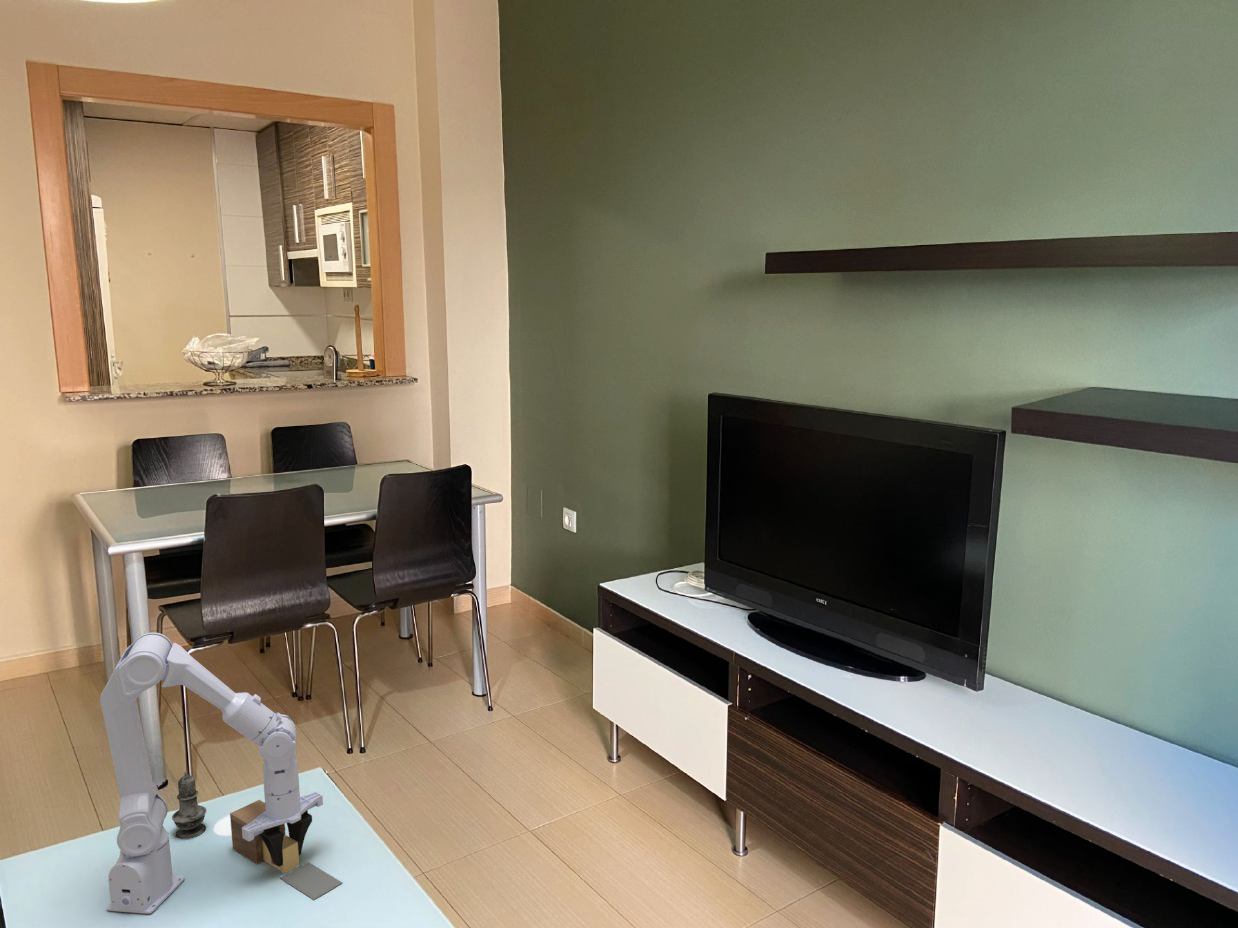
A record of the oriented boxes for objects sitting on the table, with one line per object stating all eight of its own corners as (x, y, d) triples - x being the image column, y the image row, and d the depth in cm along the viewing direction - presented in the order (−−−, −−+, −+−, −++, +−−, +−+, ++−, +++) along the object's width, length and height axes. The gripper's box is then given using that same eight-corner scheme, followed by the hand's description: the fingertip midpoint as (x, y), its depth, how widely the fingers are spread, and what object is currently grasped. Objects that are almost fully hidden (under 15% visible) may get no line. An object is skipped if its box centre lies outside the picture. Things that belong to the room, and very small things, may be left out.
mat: (313, 900, 149) (313, 898, 149) (280, 878, 154) (280, 877, 154) (342, 883, 153) (342, 882, 153) (308, 862, 159) (308, 861, 159)
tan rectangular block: (283, 873, 156) (282, 849, 155) (245, 849, 163) (244, 827, 162) (299, 864, 158) (297, 841, 158) (261, 841, 166) (259, 819, 165)
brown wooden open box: (258, 865, 158) (255, 828, 157) (232, 848, 163) (229, 813, 162) (287, 849, 163) (285, 814, 162) (262, 834, 168) (259, 799, 167)
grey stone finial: (213, 830, 169) (208, 771, 167) (181, 843, 165) (175, 783, 163) (200, 818, 173) (195, 761, 171) (168, 831, 169) (162, 772, 167)
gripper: (256, 812, 148) (261, 887, 150) (331, 777, 159) (335, 847, 161) (232, 799, 152) (238, 872, 154) (307, 765, 163) (312, 833, 165)
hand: (286, 858), depth 158 cm, fingers closed on tan rectangular block, 3 cm apart
